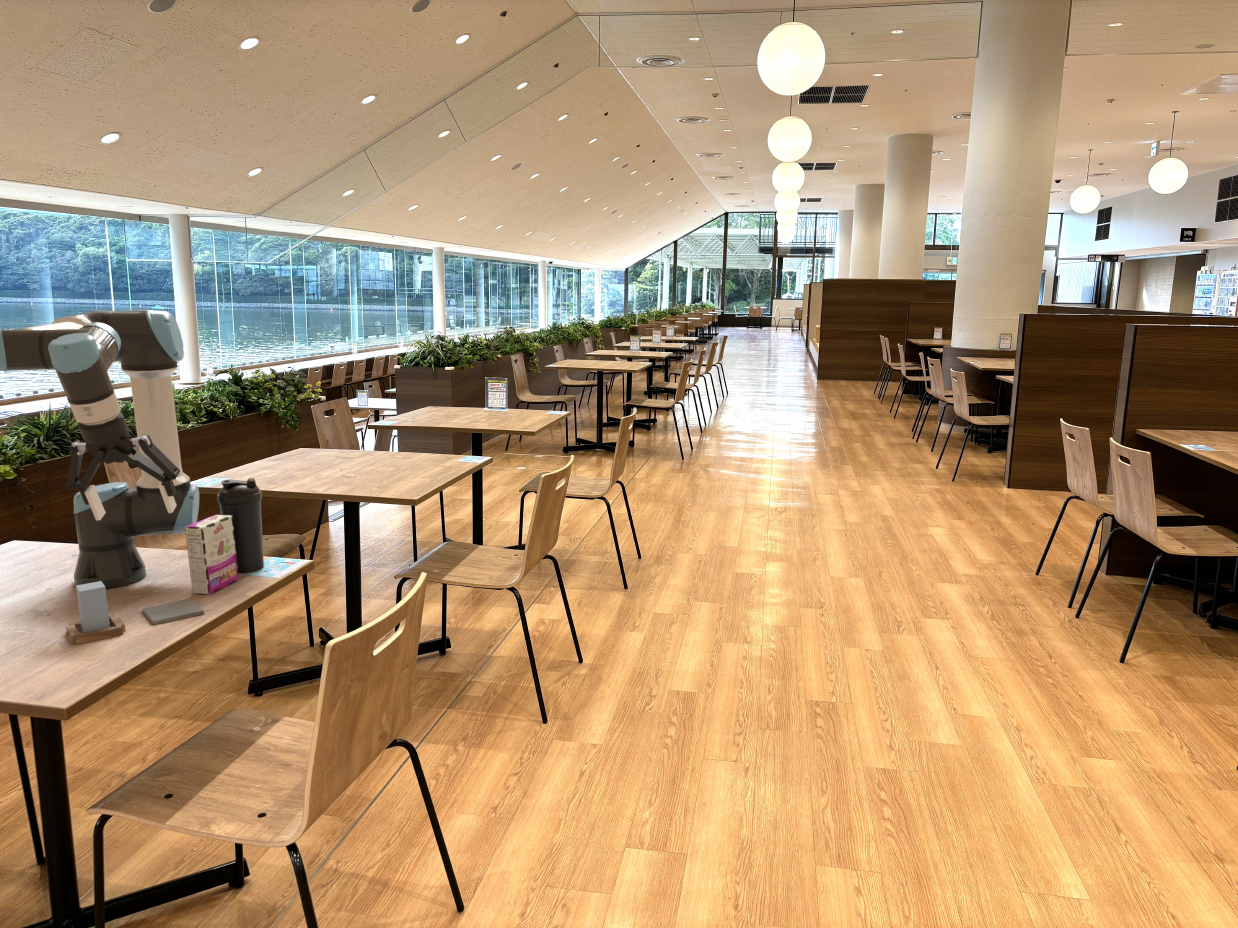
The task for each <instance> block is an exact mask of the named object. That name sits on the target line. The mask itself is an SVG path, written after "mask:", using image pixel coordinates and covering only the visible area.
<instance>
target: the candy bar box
mask: <svg viewBox="0 0 1238 928" xmlns="http://www.w3.org/2000/svg"><path fill="white" fill-rule="evenodd" d="M185 539H186V540H185V541H186V548H187V557H188V565H189V573H190V582H191V590H192V594H194V595H212V594H215V593H216V592H218V591H220V590H222V589H224V588H226V587H227V586H229V585H231V584H233V583H236V582H238V580H240V578H239V574H238V566H237V557H236V548H235V538H234V529H233V519H232V516H231V515H221V514H214V515H212V516H209V517H206V518H204V519H202V520H199V521H196V523H194V524H191V525H189V526H186V527H185Z"/></svg>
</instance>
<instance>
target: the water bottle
mask: <svg viewBox="0 0 1238 928" xmlns="http://www.w3.org/2000/svg"><path fill="white" fill-rule="evenodd" d="M220 484H221V485H222V487H221V488H220V489H219V491H218V493H217V495H216V498H217V499H216V500H217V502H218V504H219V510H220V511H219V512H220V515H231V516H232V519H233V529H234V538H235V548H236V557H237V566H238V575H241V574H248V573H249V574H250V573H254V572H258V571H260V570H262V569H263V568H264V567H265V564H264V563H265V562H264V560H265V559H264V544H263V542H264V541H263V524H262V523H263V521H262V502H261V501H262V499H263V492H262V490H261V489H260V487H258V485H257V483H256V480H255V478H253V477H249V478H247V480H239V479H222V480H221V483H220Z"/></svg>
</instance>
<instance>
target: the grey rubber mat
mask: <svg viewBox="0 0 1238 928" xmlns="http://www.w3.org/2000/svg"><path fill="white" fill-rule="evenodd" d="M141 610H142V613H143V614H144V615H145V616H146V617H147V619H148V620H149V621H150V623H151V624H152V625H159V624H163V623H168V622H173V621H176V620H177V621H178V620H181V619H186V618H190V617H196V616H200V615H204V614H205V611H204V609H203V608H202V607H201V606H200V605H199V604H198V603H197V602H196V601H195V600H194V599H193V598H192V597H191V598H190V597H189V598H185V599H180V600H176V601H175V600H174V601H170V602H166V603H161V604H155V605H150V606H146V607H142V608H141Z"/></svg>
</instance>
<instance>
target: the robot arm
mask: <svg viewBox="0 0 1238 928" xmlns="http://www.w3.org/2000/svg"><path fill="white" fill-rule="evenodd" d="M179 327H180V326H179V323H178V322H177V320H176V319H175V317H174V316H173V314H171V313H170V312H169V311H165V310H151V309H141V310H140V309H139V310H138V309H137V310H134V309H133V310H132V309H131V310H93V311H86V312H82V313H77V314H73V315H68V316H67V315H66V316H62V317H60V318H57V319H55V320H54V321H53V322H51V323H48V324H47V323H46V324H42V325H34V326H27V327H23V328H16V329H2V328H0V372H1V371H2V372H11V371H13V372H14V371H15V372H17V371H41V370H42V371H43V370H45V371H46V370H48V371H55V373H56V375H57V377H58V380H59V382H60V384H61V386H62V388H63V392H64V394H65V396H66V399H67V401H68V402H67V403H69V407H70V409H71V411H72V414H73V417H74V419H75V421H76V422H78V424H77V427H78V429H79V431H80V433H81V434H80V435H81V436H82V439H83V441H84V442H81V440H79V439H78V440H74V442H72V444H71V445H70V446H69V447H68V450H69V454H70V455H69V456H70V460H69V461H70V462H69V468H68V473H67V479H66V484H65V488H66V490H68V491H72V490H76V491H78V492H77V493H75V495H74V496H73V514H74V520H75V521H74V522H75V528H76V536H77V543H78V550H79V551H78V557H77V560H76V561H77V562H76V565H75V570H74V573H73V581H74V583H73V584H74V586H75V587H76V586H77V585H82V584H88V583H93V582H99V581H101V582H102V583H103V584H104V586H105V589H110V588H111V589H112V588H116V587H122V586H126V585H129V584H133V583H136V582H138V581H140V580H143V578H145V577H146V576H147V568H146V564H145V562H144V561H143V558H142V557H141V555H140V552H139V550H138V549H137V547H136V545H135V544H136V543H135V537H142V536H145V537H146V536H156V535H157V536H159V535H160V536H161V535H176V534H183V533H185V527H186V526H189V525H191V524H194V523H196V522H198V515H199V510H200V490H199V489H200V488H199V486H198V485H195V484H191V479H190V476H189V475H187V474H186V473H185V472H183V468H182V459H181V451H180V450H181V449H180V441H179V433H178V425H177V424H178V423H177V416H176V415H177V414H176V413H177V412H176V406H175V398H174V397H175V396H174V387H173V381H172V375H173V374H174V372H175V371H176V370H178V362H180V361H182V360H183V359H184V357H185V351H184V342H183V337H182V334H181V330H180V328H179ZM114 362H115V363H118V362H120V366H121V367H120V368H121V371H122V372H123V373H124V374H126V375H127V376H128V377H129V380H130V388H131V389H130V390H131V395H132V396H131V397H132V404H133V411H134V419H135V427H136V434H137V435H136V436H137V437H133V436H132V435H131V434H130V431H129V427H128V424H127V421H126V419H125V415H124V413H123V412H121V410H122V408H121V404H120V403H119V401H118V398H117V395H116V393H115V390H114V388H113V387H114V386H113V384H112V381H111V379H110V376H109V374H108V370H109V369H110V367H111V366H112V365H113V363H114ZM135 446H137V447H135ZM86 451H87V452H88V453H89V454H90V455H92V456H93V458H92V460H91V462H90V463H89V466H88V468H87V470H86V471H85V473H84V476H83V477H82V478H81V480H80V475H81V468H82V461H83V456H84V453H85V452H86ZM131 455H132V456H131ZM124 462H126V463H128V464H130V465H134V466H135V467H136V468H139V469H141V477H140V478H139V479H138V480H137V481H136V482H135V485H136V486H135V487H136V488H134V487H133V488H130V485H129V483H127V481H126V482H125V481H122V482H121V481H118V482H117V481H116V482H109V483H104V484H103V483H102V484H97V485H95V484H90V483H91V481H92V479H93V478H94V476H95V474H96V472H97V471H98V469H99V467H100V466H101V463H104V464H106V465H108V464H113V463H117V464H118V463H119V464H120V463H124ZM185 534H186V533H185Z"/></svg>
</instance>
